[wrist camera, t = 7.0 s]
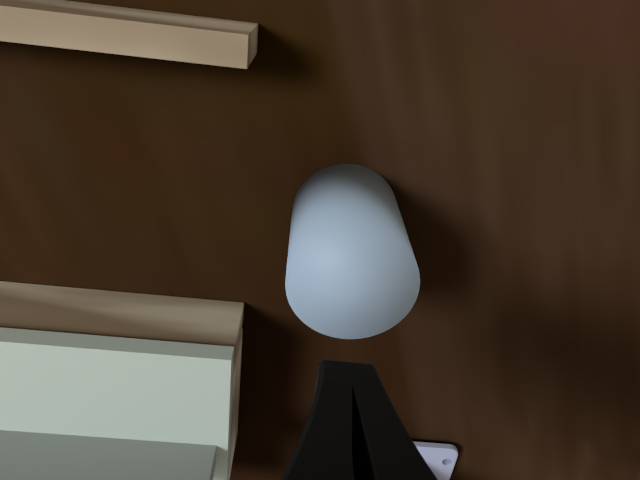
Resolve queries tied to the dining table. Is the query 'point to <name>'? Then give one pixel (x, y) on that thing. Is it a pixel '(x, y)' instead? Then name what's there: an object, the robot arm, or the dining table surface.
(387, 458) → the robot arm
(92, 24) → the frame
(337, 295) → the pale blue cylinder
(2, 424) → the lid
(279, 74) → the dining table surface
